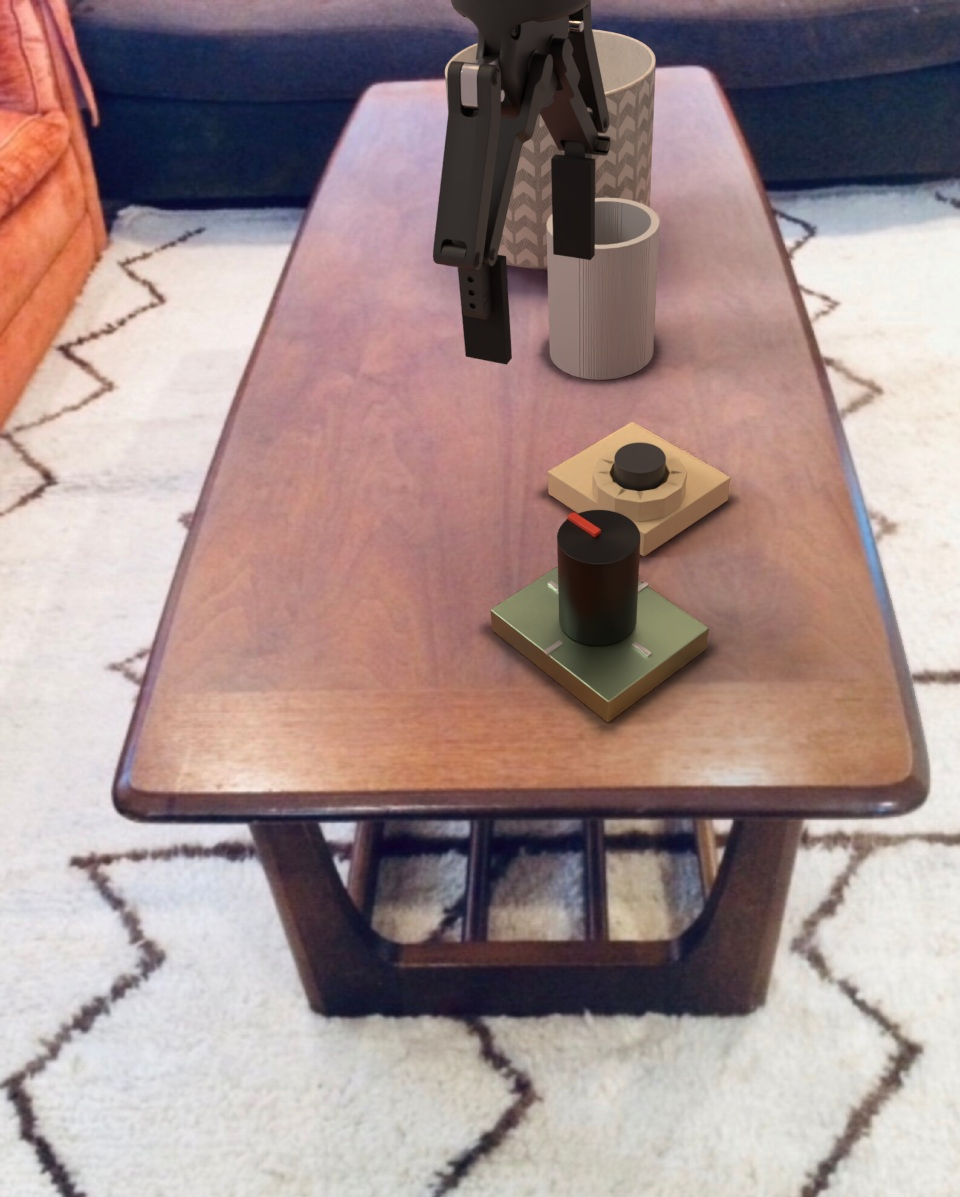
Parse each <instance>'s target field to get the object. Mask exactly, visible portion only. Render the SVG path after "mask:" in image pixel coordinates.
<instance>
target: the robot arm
mask: <svg viewBox="0 0 960 1197" xmlns="http://www.w3.org/2000/svg"><path fill="white" fill-rule="evenodd" d="M450 3H451V6H452V8H453V9H454V11H456V13H457V14H458V15H460V16H462V17H463V18H466V19H468V20H469V21H471V23H472V24H473V25H474V26H475V27H476V29H477V32H478V34H477V43H478V44H477V53H476V61H474V62H459V61H452V62H451V63H450V64H449V67H448V71H447V87H448V104H447V121H446V128H445V129H446V131H445V138H444V139H445V140H444V148H443V156H442V157H443V158H442V167H441V175H440V184H439V193H438V195H439V196H438V202H437V211H436V213H437V214H436V220H435V228H434V230H435V231H434V238H433V248H432V259H433V262H434V264H437V265H443V266H446V267H447V266H448V267H453V268H457V275H458V288H459V298H460V307H461V320H462V331H463V342H464V352H465V353H464V354H465V357H466V358H471V359H476V360H480V361H487V362H491V363H497V364H502V365H508V364H509V362H510V361H511V360H512V359H513V354H512V336H511V335H512V334H511V333H512V332H511V318H510V302H509V300H510V298H509V280H508V265H507V262H506V256H503V255H498V251H499V247H500V242H501V238H502V234H503V229H504V225H505V220H506V216H507V211H508V207H509V202H510V198H511V194H512V189H513V185H514V180H515V176H516V171H517V167H518V162H519V158H520V153H521V149H522V145H523V144H524V143H525V142H526V141H528V140H530V139H531V138H532V136H533V134H534V130H535V126H536V121H537V117H538V115H539V113H540V115H541V117H542V119H543V121H544V123H545V125H546V127H547V129H548V130H549V132H550V134H551V136H552V138H553V140H554V142H555V144H556V146H557V148H558V150H559V151H564V155H558V154H555V155H554V156H553V157H552V158H551V179H552V221H553V254H554V255H560V256H567V257H573V258H580V259H586V260H591V259H592V258H593V257H594V255H595V159H592V154H593V155H602V156H607V155H608V153H609V150H610V143H611V141H610V137H608V136H599V135H598V133H606V132H607V130H608V128H609V124H610V121H609V113H608V108H607V103H606V98H605V93H604V88H603V83H602V77H601V72H600V67H599V62H598V57H597V52H596V47H595V42H594V37H593V31H592V29H593V25H592V0H450ZM587 108H590V109H591V110H592V112H591V111H588V110H587Z"/></svg>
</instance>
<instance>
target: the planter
mask: <svg viewBox="0 0 960 1197" xmlns="http://www.w3.org/2000/svg"><path fill="white" fill-rule="evenodd" d="M592 31H593V37H594V42H595V47H596V52H597V57H598V62H599V67H600V72H601V77H602V83H603V88H604V93H605V98H606V103H607V108H608V113H609V121H610V124H609V128H608V130H607V132H606V133H598V135H599V136H608V137H610V141H611V143H610V150H609V153H608V155H607V156H602V155H593V154H592V159H595V198H620V199H627V200H632V201H635V202H638V203H642V204H644V205H646V206H648V207H649V208H651V188H652V166H653V165H652V162H653V140H654V118H655V94H656V92H655V91H656V70H657V69H656V67H657V64H656V63H657V60H656V55H655V53H654V52H653V50H652V49H651V48H650V47H649V46H648V45H646V44H645V43H644V42H642V41H640V40H638V39H636V38H633V37H631V36H628V35H624V34H621V33H618V32H617V33H616V32H612V31H607V30H600V29H593V28H592ZM477 44H478V42H476V43H474V44H472V45H469V46H468V47H465V48H463V49H462V50H460V51H459V52H457V53H456V54H454V56H452V57H451V59H449V61H448V62H447V63H446V65H445V69H444V81H445V92H446V103H447V104H446V105H448V87H447V71H448V67H449V64H450V63H451V62H452V61H459V62H474V61H476V53H477ZM587 110H588V111H591V112H592V110H591V109H590V108H587ZM555 154H558V155H564V151H559V150H558V148H557V146H556V144H555V142H554V140H553V138H552V136H551V134H550V132H549V130H548V129H547V127H546V125H545V123H544V121H543V119H542V117H541V115H540V113H539V115H538V117H537V121H536V126H535V130H534V134H533V136H532V138H531V139H530V140H528V141H526V142H525V143H524V144H523V145H522V149H521V153H520V158H519V162H518V167H517V171H516V176H515V180H514V185H513V189H512V194H511V198H510V202H509V207H508V211H507V216H506V220H505V225H504V229H503V234H502V238H501V242H500V247H499V251H498V255H503V256H506V262H507V266H510V267H511V266H512V267H518V268H523V269H528V270H537V271H548V266H547V228H546V225H547V220H548V218H549V217H550V216H551V214H552V179H551V158H552V157H553V156H554V155H555Z"/></svg>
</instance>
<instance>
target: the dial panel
mask: <svg viewBox="0 0 960 1197" xmlns="http://www.w3.org/2000/svg"><path fill="white" fill-rule="evenodd" d="M490 622H491V630H492V631H493V633H495V634H496V635H497V636H499V637H500V638H501V639H502V640H504V641H505V642H506V643H508V644H509V645H510V646H511V647H513V648H514V649H515V650H516V651H518V653H520V654H521V655H523V656H524V657H525V658H526V659H527V660H529V661H530V662H531V663H533V664H534V665H535V666H536V667H537V668H539V669H540V670H541V671H542V672H544V673H545V674H546V675H548V676H549V677H550V678H551V679H552V680H554V681H555V682H556V683H558V685H560V686H561V687H562V688H564V689H565V690H566V691H568V692H569V693H570V694H571V695H573V696H574V697H575V698H576V699H578V701H580V702H581V703H582V704H584V705H585V706H586V707H587V708H589V709H590V710H591V711H592V712H594V713H595V714H596V715H597V716H599V717H600V718H601V719H603V720H604V721H605V722H606V723H611V721H612V720H614V719H615V718H617V717H618V716H619V715H620V714H622V713H623V712H624V711H626V710H627V709H628V708H630V707H631V706H633V705H634V704H635V703H637V701H640V700H641V699H642V698H643V697H644V696H646V695H647V694H649V693H650V692H652V691H653V690H654V689H655V688H656V687H658V686H660V685H661V684H662V683H663V682H664V681H666V680H667V679H668V678H670V677H672V676H673V675H674V674H675V673H677V672H678V671H679V670H681V669H682V668H684V667H685V666H686V665H688V664H689V663H690V662H691V661H693V660H694V659H696V658H697V657H698V656H699V655H701V654H702V653H703V652H705V651H706V650H707V648H708V640H709V631H710V628H709V627H708V626H707V625H706V624H704V623H703V622H700V620H698V619H696V618H695V617H694V616H692V615H690V614H689V613H688V612H686V611H685V610H683V609H681V608H680V607H679V606H678V605H676V604H674V603H673V602H672V601H670V600H668V599H667V598H665V597H664V596H663V595H661V594H659V593H658V592H656V591H655V590H654V589H652V588H651V587H650V583H649V582H647V581H644V582H641V581H640V580H638V602H637V621H636V625H635V627H634V629H633V631H632V632H631V633H630V634H629V635H628V636H627V637H626V638H624V639H622V640H621V641H619V642H616V643H613V644H609V645H602V646H595V645H587V644H583V643H580V642H578V641H576V640H574V639H572V638H571V637H569V636H568V635H567V634H566V633H565V632H564V631H563V629H562V627H561V625H560V622H559V597H558V565H557V566H555V567H554V568H552V569H551V570H549V571H548V572H546V573H544V574H542V576H540V577H538V578H537V579H535V580H533V581H532V582H531V583H529V584H528V585H526V586H524V587H523V588H521V589H520V590H518V591H517V592H515V593H514V594H512V595H511V596H509V597H507V598H506V599H504V600H503V601H501V602H499V603H498V604H496V605H495V606H493V607H492V608H491V609H490Z"/></svg>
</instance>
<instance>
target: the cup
mask: <svg viewBox="0 0 960 1197" xmlns="http://www.w3.org/2000/svg"><path fill="white" fill-rule="evenodd" d="M660 223H661V221H660V216H659V214H658V213H657V212H656V211H655V210H654V209H652V208H651V207H650V208H649V207H648V206H646V205H644V204H642V203H638V202H635V201H632V200H627V199H620V198H595V255H594V257H593V258H592V259H591V260H586V259H580V258H573V257H567V256H560V255H554V254H553V221H552V214H551V216H550V217H549V218H548V220H547V225H546V228H547V266H548V270H547V301H548V302H547V303H548V304H547V305H548V334H549V335H548V337H549V338H548V340H549V356H550V359H551V362H552V363H553V364H554V366H555V367H557V368H558V369H559V370H561V371H562V372H563V373H566V374H568V375H570V376H573V377H577V378H581V379H584V380H585V379H587V380H595V381H601V380H602V381H603V380H604V381H605V380H615V379H620V378H624V377H628V376H631V375H634V374H635V373H637V372H640V371H641V370H643V368H645V367H646V366H647V365H648V364H649V363H650V362H651V361H652V358H653V356H654V347H655V346H654V345H655V328H656V327H655V325H656V309H657V308H656V307H657V286H658V284H657V283H658V265H659V248H660V246H659V244H660V227H661V226H660V225H661V224H660Z"/></svg>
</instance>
